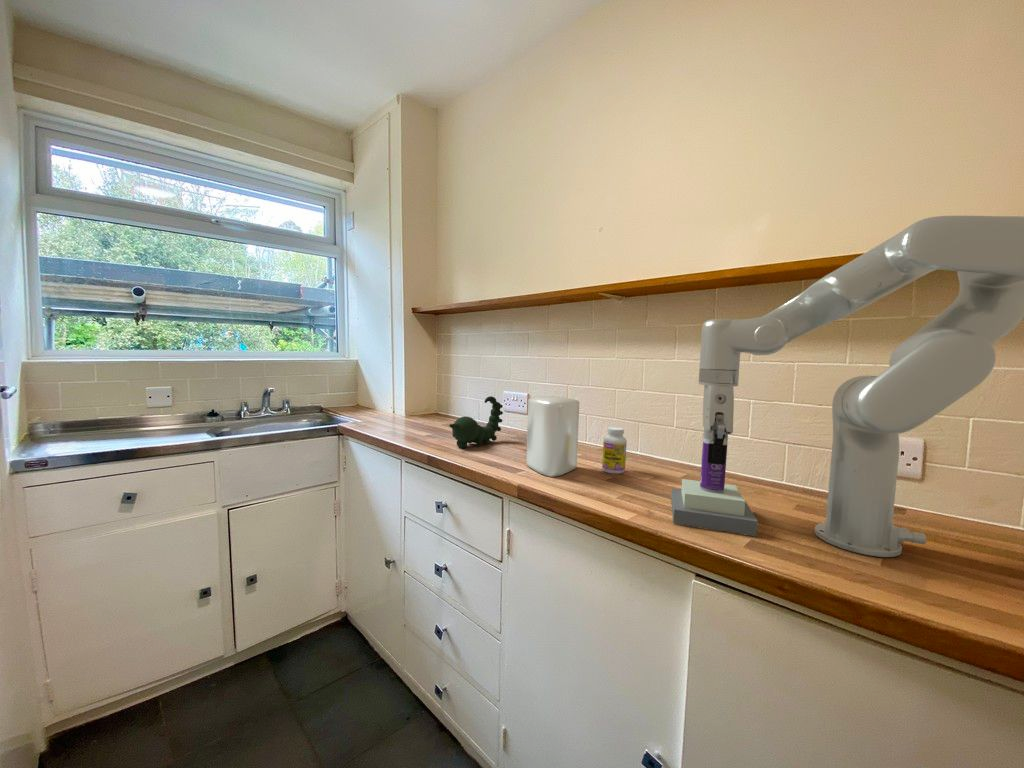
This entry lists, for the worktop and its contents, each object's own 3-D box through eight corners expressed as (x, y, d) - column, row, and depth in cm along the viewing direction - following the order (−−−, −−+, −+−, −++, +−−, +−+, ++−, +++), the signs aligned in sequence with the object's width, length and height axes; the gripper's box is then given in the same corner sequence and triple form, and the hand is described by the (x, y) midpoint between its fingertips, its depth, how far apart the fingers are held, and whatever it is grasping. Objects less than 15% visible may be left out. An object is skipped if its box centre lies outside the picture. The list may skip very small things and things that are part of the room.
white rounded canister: (576, 466, 127) (578, 395, 125) (578, 479, 113) (582, 400, 111) (526, 463, 128) (529, 393, 127) (523, 476, 114) (526, 397, 112)
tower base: (741, 509, 93) (743, 484, 93) (756, 536, 79) (758, 506, 79) (671, 500, 98) (672, 475, 98) (673, 523, 84) (675, 495, 84)
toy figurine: (487, 443, 163) (438, 446, 144) (492, 395, 163) (443, 393, 144) (505, 447, 157) (456, 451, 138) (509, 397, 157) (461, 395, 138)
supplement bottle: (599, 471, 121) (601, 428, 120) (605, 466, 127) (607, 425, 126) (622, 475, 118) (624, 431, 117) (627, 470, 124) (629, 428, 123)
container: (710, 493, 85) (715, 422, 84) (695, 486, 90) (699, 418, 89) (729, 492, 87) (734, 421, 85) (712, 485, 91) (717, 418, 90)
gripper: (746, 381, 77) (740, 470, 78) (731, 377, 93) (726, 451, 95) (703, 379, 80) (697, 466, 81) (695, 376, 96) (691, 448, 97)
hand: (713, 458), depth 88 cm, fingers open, 9 cm apart
